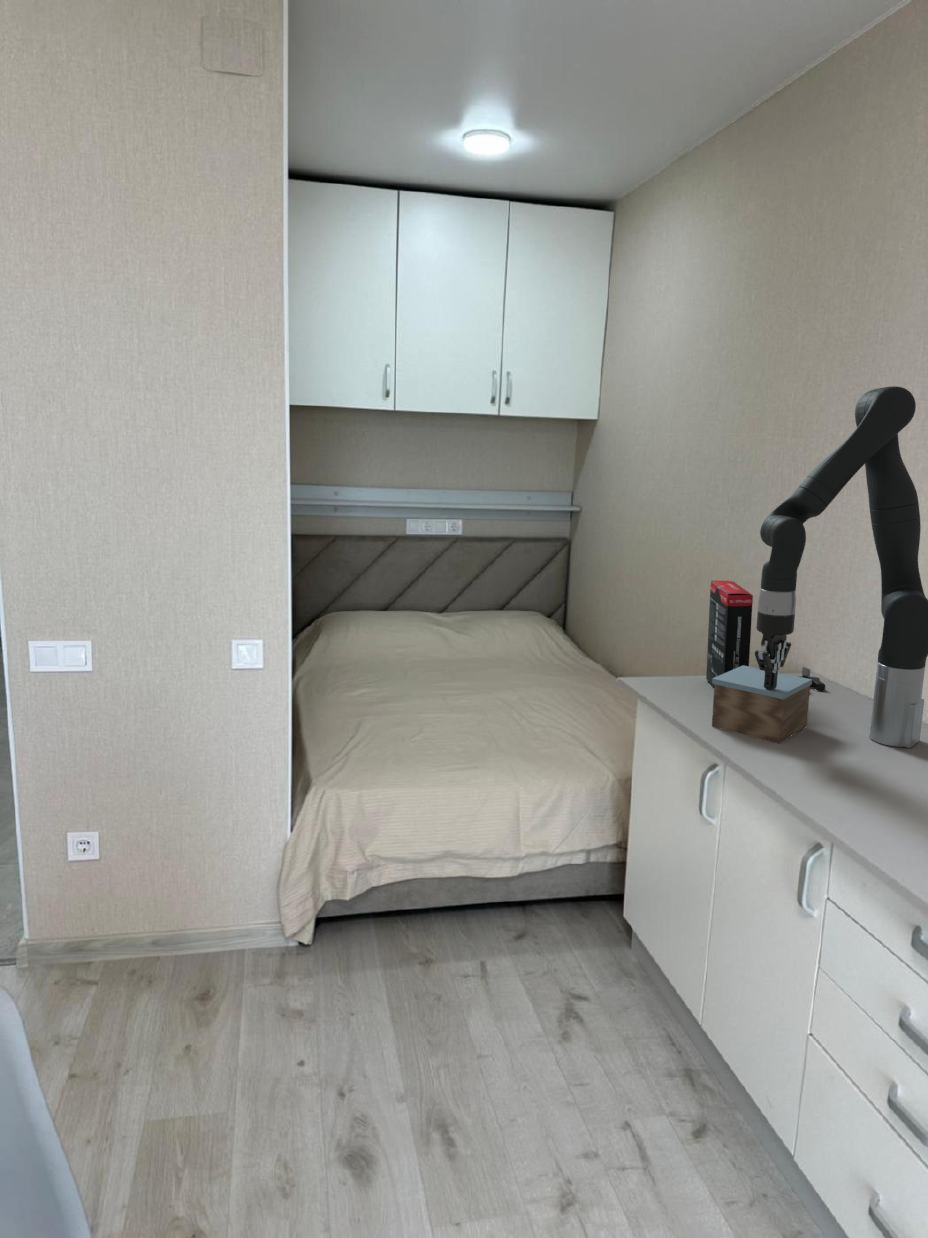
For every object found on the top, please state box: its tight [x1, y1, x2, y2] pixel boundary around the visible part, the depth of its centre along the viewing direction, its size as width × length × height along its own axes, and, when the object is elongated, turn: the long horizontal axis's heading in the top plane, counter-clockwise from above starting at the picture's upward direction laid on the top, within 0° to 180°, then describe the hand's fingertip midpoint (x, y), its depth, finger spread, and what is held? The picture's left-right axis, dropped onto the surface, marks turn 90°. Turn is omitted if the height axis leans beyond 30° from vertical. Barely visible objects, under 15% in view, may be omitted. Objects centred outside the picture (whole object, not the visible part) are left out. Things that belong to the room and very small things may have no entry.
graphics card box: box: [705, 580, 754, 689], centre depth 227 cm, size 17×7×27 cm, turn 0°
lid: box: [712, 665, 812, 699], centre depth 201 cm, size 17×15×1 cm
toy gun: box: [797, 666, 826, 692], centre depth 231 cm, size 10×12×5 cm
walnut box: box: [711, 684, 811, 744], centre depth 202 cm, size 16×14×10 cm
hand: (770, 688), depth 193 cm, fingers closed
